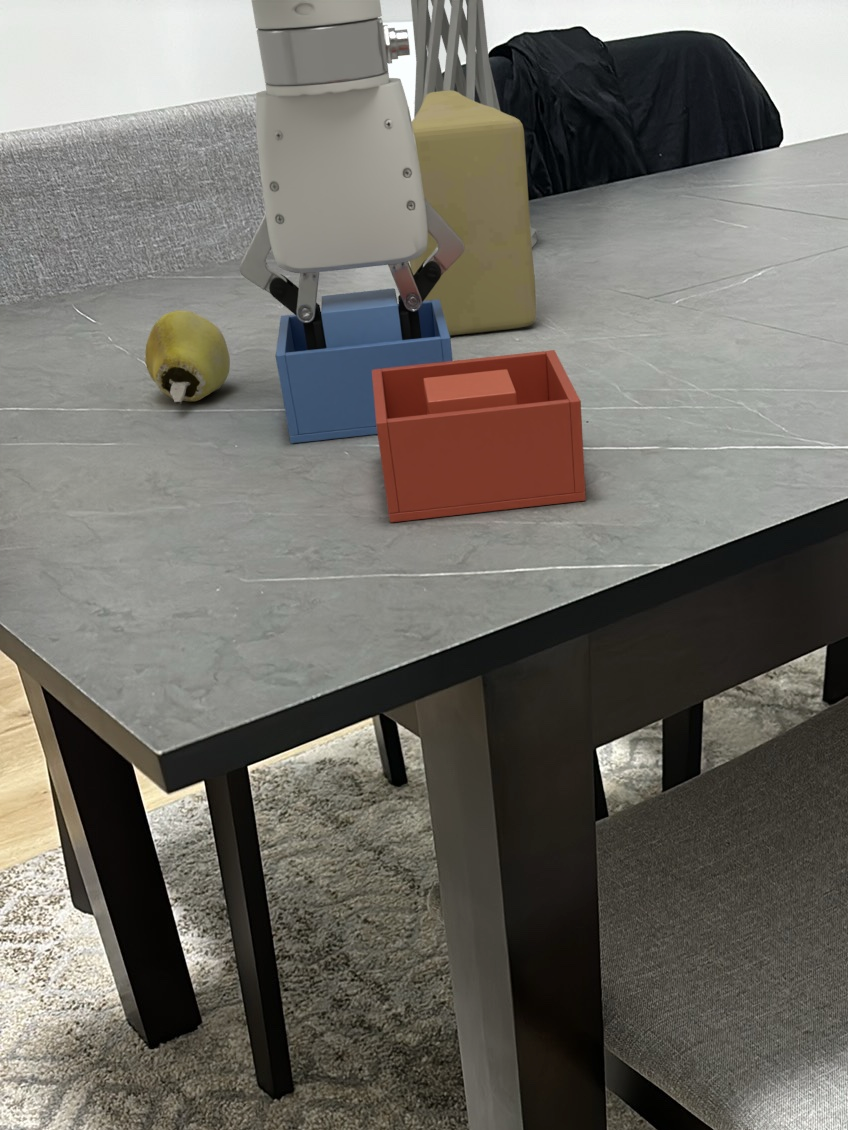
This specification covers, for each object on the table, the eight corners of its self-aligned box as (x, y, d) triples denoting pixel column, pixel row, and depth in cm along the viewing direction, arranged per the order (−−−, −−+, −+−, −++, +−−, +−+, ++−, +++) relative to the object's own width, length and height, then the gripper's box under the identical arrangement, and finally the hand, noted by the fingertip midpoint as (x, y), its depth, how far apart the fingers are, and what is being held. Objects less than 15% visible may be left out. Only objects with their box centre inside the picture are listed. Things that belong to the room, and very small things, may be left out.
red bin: (389, 522, 78) (376, 423, 75) (384, 461, 87) (371, 369, 84) (586, 500, 79) (580, 400, 76) (560, 441, 88) (554, 349, 84)
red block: (438, 490, 81) (427, 401, 78) (433, 463, 85) (423, 377, 81) (523, 481, 81) (516, 391, 78) (514, 454, 85) (507, 368, 82)
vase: (397, 266, 134) (340, -203, 113) (406, 239, 145) (355, -194, 124) (537, 255, 134) (506, -218, 113) (536, 229, 145) (507, -208, 123)
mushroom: (138, 423, 98) (146, 366, 105) (225, 438, 100) (227, 381, 106) (142, 341, 94) (150, 287, 101) (232, 358, 96) (234, 304, 103)
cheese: (408, 283, 128) (385, 93, 119) (512, 272, 129) (497, 82, 120) (418, 341, 111) (392, 123, 102) (539, 328, 111) (524, 111, 102)
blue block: (333, 392, 93) (320, 312, 90) (333, 373, 97) (321, 295, 94) (407, 384, 93) (397, 304, 90) (404, 365, 97) (394, 287, 94)
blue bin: (290, 443, 91) (275, 355, 88) (294, 397, 100) (280, 315, 97) (459, 425, 92) (450, 337, 89) (448, 380, 101) (439, 299, 98)
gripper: (459, 42, 87) (487, 348, 98) (188, 68, 86) (247, 374, 97) (469, 51, 81) (497, 376, 92) (177, 80, 80) (241, 404, 91)
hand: (368, 372), depth 95 cm, fingers closed on blue block, 5 cm apart
